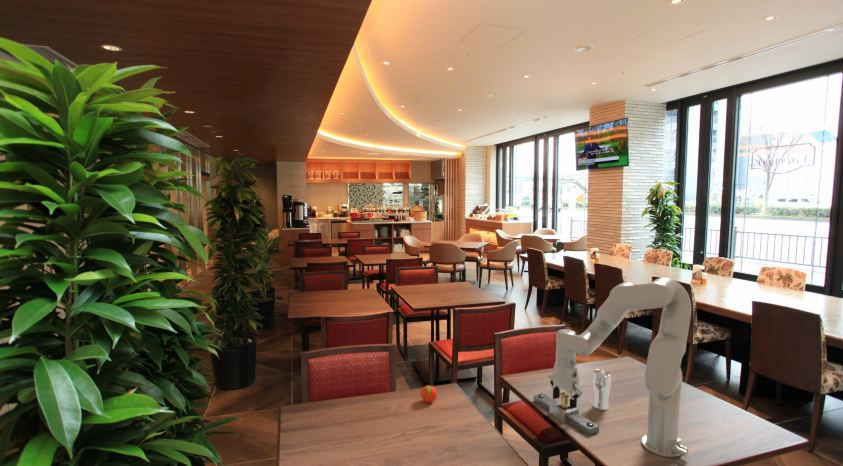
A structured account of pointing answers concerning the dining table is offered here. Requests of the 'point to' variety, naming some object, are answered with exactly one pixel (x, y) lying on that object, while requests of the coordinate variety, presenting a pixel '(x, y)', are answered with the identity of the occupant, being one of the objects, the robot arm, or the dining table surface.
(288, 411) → the dining table surface
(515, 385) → the dining table surface
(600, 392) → the metal tumbler
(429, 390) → the red tomato
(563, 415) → the studded connector plate
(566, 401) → the link pin
